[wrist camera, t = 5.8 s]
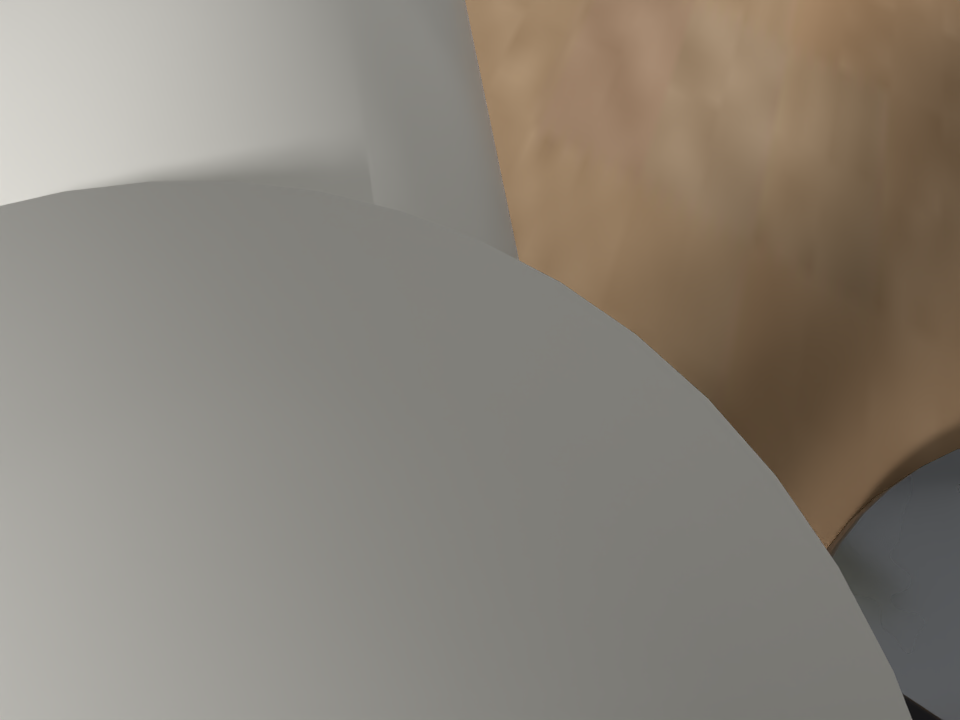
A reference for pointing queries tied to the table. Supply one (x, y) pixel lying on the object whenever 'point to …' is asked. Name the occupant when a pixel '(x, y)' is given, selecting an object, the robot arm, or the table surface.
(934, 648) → the flange plate
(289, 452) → the duct elbow
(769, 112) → the table surface
